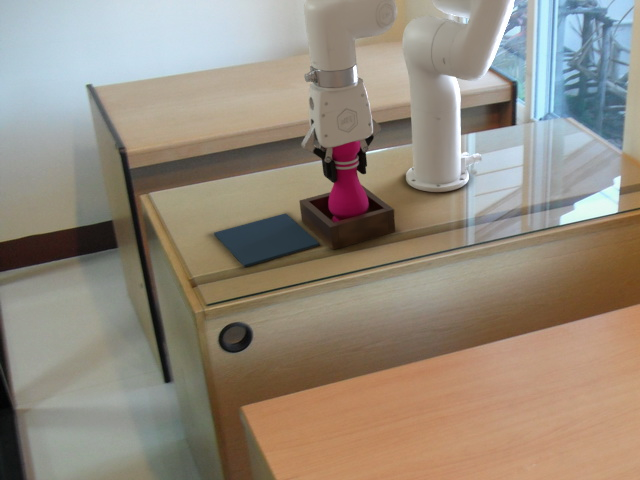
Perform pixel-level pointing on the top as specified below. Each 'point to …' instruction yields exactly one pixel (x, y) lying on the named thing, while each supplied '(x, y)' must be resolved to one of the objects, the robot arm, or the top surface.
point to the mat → (266, 239)
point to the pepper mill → (347, 184)
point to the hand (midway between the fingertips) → (346, 174)
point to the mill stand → (347, 221)
